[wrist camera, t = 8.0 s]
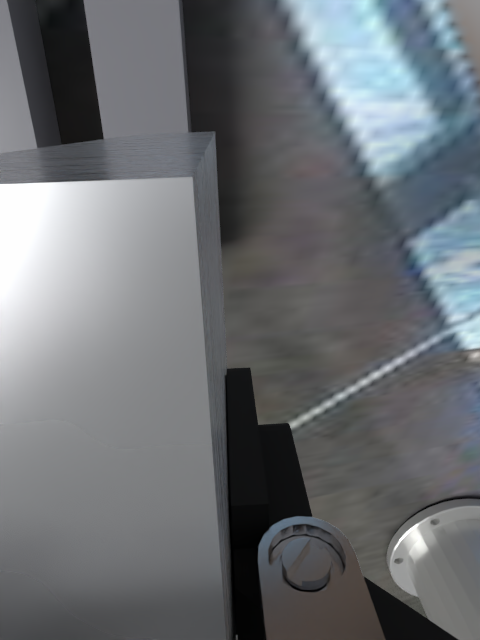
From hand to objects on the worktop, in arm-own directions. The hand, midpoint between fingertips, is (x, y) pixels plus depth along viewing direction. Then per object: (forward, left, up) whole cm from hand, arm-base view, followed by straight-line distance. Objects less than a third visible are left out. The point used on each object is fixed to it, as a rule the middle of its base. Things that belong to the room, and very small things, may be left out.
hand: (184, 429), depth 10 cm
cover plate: (0, 0, -5) cm, 5 cm away
